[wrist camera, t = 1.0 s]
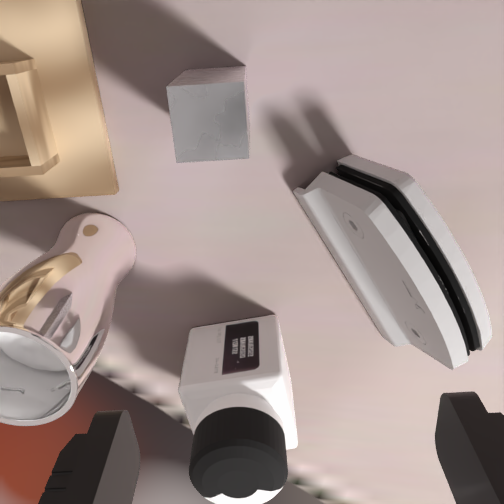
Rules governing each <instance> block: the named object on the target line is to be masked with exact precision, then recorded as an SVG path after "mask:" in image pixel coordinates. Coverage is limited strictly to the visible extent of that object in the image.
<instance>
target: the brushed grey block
mask: <svg viewBox="0 0 504 504" xmlns="http://www.w3.org/2000/svg"><path fill="white" fill-rule="evenodd" d="M166 90H167V97H168V104H169V112H170V119H171V126H172V133H173V141H174V148H175V155H176V162H177V163H184V162H200V161H216V160H233V159H249V143H250V121H249V105H248V90H247V74H246V66H234V67H219V68H204V69H189V70H185V71H184V72H183V73H181V74H180V75H179V76H178V77H177V78H176V79H174V80H173V81H172V82H171V83H170V84H169V85H167V86H166Z"/></svg>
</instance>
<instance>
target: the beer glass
mask: <svg viewBox="0 0 504 504" xmlns="http://www.w3.org/2000/svg"><path fill="white" fill-rule="evenodd" d="M135 259H136V245H135V242H134V239H133V237H132V235H131V234H130V232H129V231H128V229H127V228H126V227H125V226H124V225H123V224H122V223H120V222H119V221H117V220H116V219H114V218H112V217H110V216H107V215H104V214H100V213H84V214H80V215H77V216H75V217H73V218H71V219H70V220H69V221H67V222H66V223H65V224H64V226H63V227H62V229H61V231H60V233H59V236H58V239H57V242H56V243H55V245H54V246H53V247H51V249H50V250H49V251H47V252H46V253H44V254H43V255H41V256H39V257H38V258H36V259H35V260H33V261H32V262H30V263H29V264H27V265H25V266H24V267H22V268H21V269H20V270H18V271H17V272H16V273H14V274H13V275H12V276H11V277H9V278H8V279H7V280H6V281H5V282H4V283H3V284H1V285H0V422H2V423H6V424H10V425H18V426H34V425H40V424H45V423H48V422H51V421H53V420H55V419H57V418H59V417H61V416H62V415H64V414H65V413H66V412H67V411H68V410H69V409H70V408H71V406H72V405H73V403H74V401H75V399H76V396H77V395H78V393H79V391H80V389H81V388H82V386H83V385H84V383H85V381H86V380H87V378H88V376H89V374H90V372H91V371H92V369H93V367H94V365H95V363H96V361H97V359H98V357H99V355H100V353H101V351H102V348H103V346H104V343H105V341H106V338H107V335H108V332H109V328H110V324H111V320H112V315H113V309H114V302H115V295H116V290H117V286H118V284H119V282H120V281H121V280H122V279H123V278H124V277H125V276H126V275H127V274H128V273H129V272H130V270H131V269H132V267H133V265H134V263H135Z"/></svg>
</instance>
